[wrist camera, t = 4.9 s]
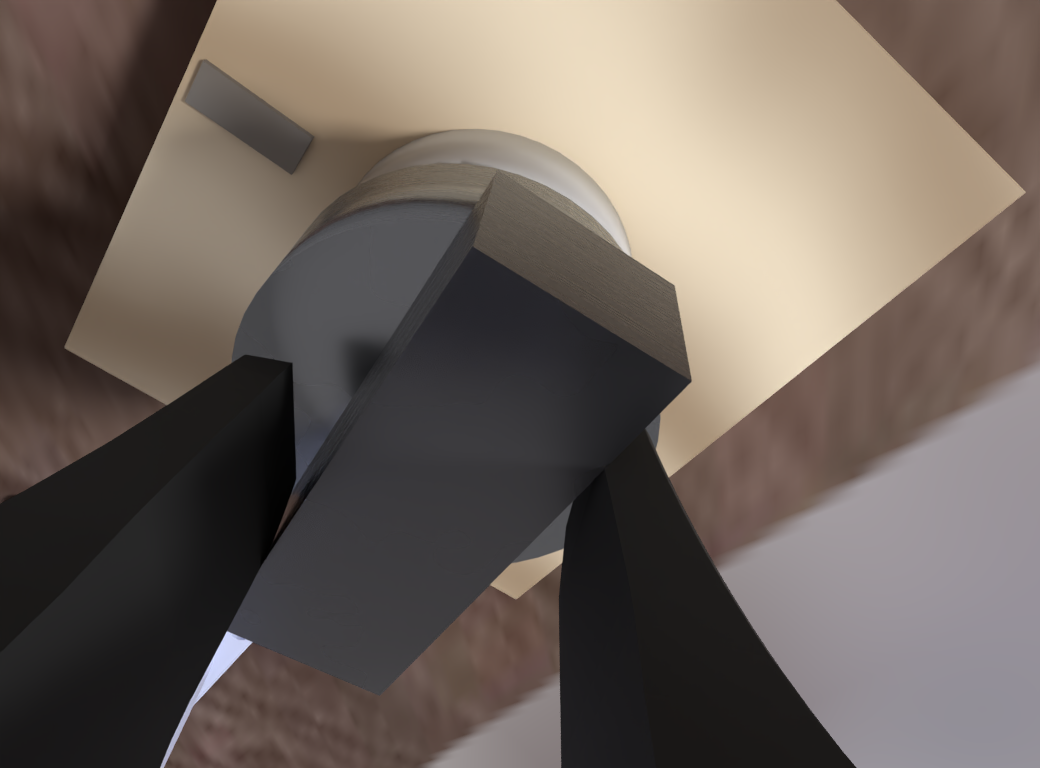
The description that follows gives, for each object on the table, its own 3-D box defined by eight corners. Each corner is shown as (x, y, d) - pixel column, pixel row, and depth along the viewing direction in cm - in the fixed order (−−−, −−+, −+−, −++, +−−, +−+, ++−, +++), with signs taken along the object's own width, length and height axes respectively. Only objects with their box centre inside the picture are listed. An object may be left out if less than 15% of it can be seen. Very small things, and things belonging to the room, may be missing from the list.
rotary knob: (756, 283, 11) (823, 462, 8) (476, 574, 15) (442, 768, 12) (398, 40, 9) (292, 134, 6) (200, 440, 14) (75, 620, 10)
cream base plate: (522, 541, 21) (508, 668, 18) (114, 301, 17) (2, 404, 14) (975, 152, 14) (1092, 243, 10) (438, -387, 10) (362, -502, 7)
